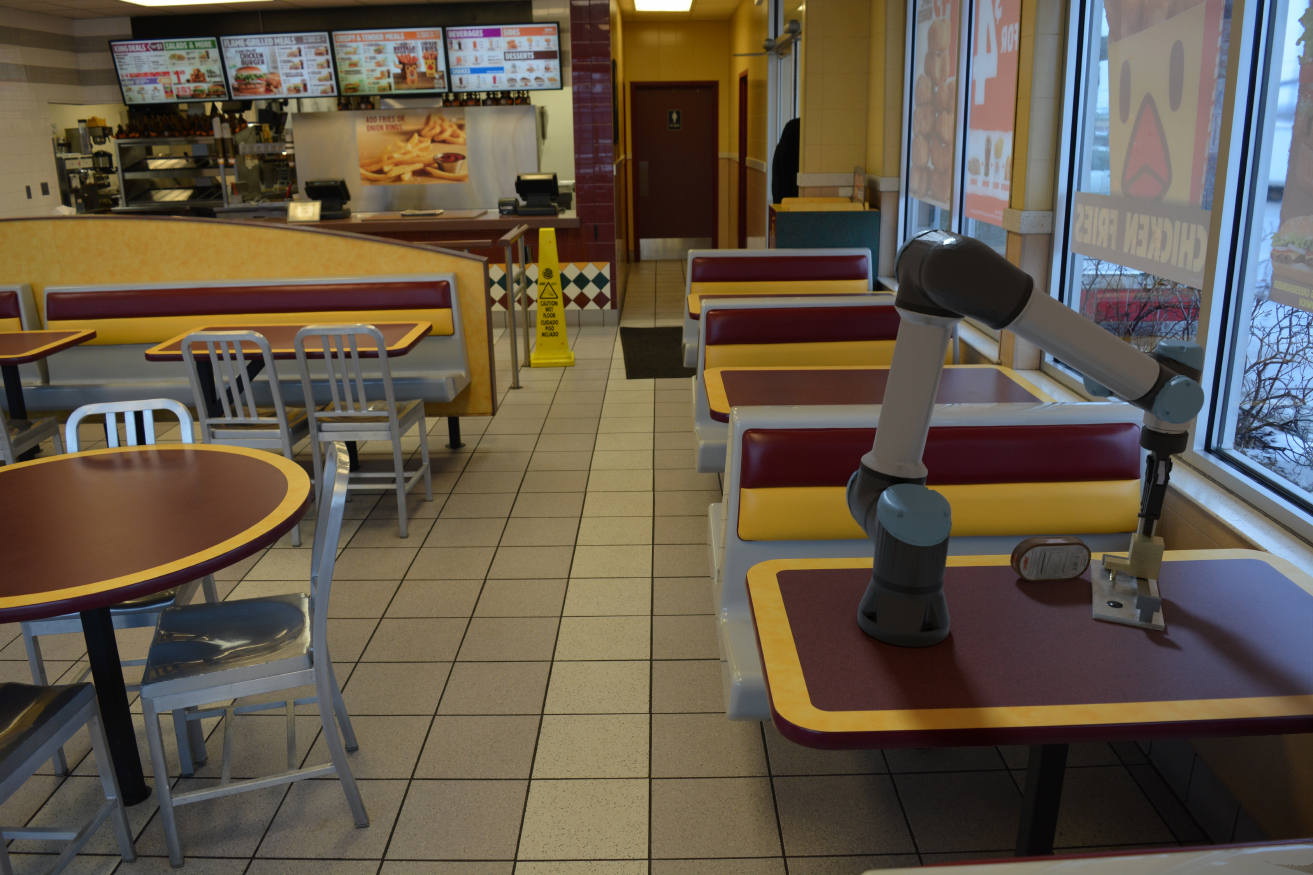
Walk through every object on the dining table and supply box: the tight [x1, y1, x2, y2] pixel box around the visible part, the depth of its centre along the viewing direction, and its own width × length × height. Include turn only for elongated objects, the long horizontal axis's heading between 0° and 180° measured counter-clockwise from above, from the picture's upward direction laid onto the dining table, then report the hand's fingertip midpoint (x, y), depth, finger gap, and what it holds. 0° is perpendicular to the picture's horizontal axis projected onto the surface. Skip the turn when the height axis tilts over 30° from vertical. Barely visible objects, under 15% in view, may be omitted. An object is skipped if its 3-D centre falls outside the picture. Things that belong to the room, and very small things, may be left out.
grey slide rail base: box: [1101, 553, 1163, 624], centre depth 173 cm, size 8×24×5 cm, turn 158°
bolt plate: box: [1090, 558, 1166, 632], centre depth 174 cm, size 11×24×1 cm, turn 158°
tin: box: [1009, 535, 1092, 583], centre depth 179 cm, size 15×3×8 cm, turn 97°
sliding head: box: [1104, 532, 1165, 581], centre depth 175 cm, size 9×4×9 cm, turn 68°
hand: (1142, 548), depth 177 cm, fingers closed
